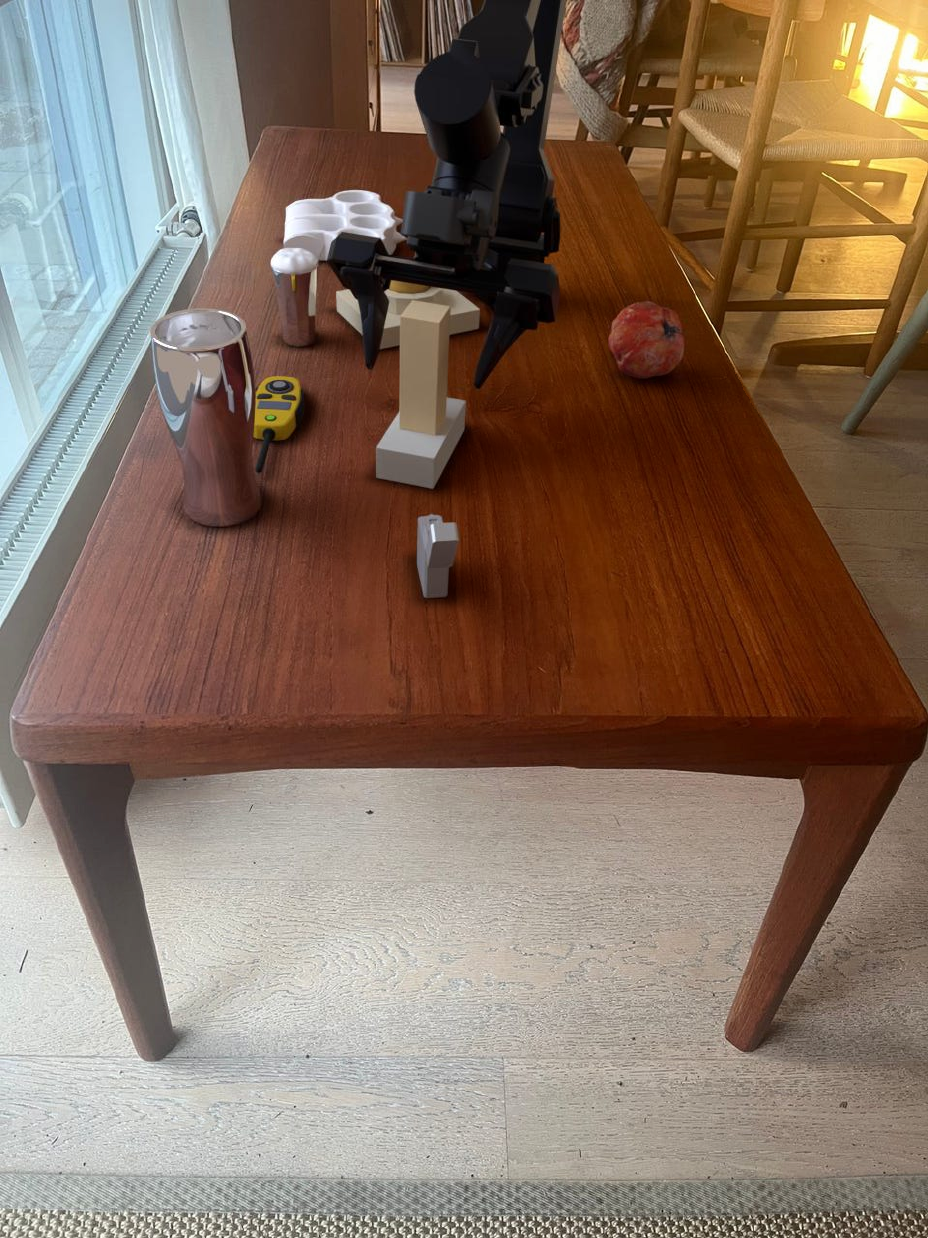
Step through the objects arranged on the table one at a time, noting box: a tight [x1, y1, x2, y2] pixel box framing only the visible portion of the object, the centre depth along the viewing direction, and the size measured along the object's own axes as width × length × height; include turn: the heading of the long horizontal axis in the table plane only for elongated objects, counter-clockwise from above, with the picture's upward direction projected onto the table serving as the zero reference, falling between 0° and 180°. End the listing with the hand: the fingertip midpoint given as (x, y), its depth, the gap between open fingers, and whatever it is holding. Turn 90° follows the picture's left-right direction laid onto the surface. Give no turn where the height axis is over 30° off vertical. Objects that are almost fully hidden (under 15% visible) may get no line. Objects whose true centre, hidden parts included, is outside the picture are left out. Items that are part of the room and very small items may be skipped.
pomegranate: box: [608, 300, 685, 380], centre depth 96 cm, size 7×7×10 cm
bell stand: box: [335, 286, 481, 350], centre depth 103 cm, size 12×10×4 cm
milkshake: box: [270, 246, 324, 348], centre depth 96 cm, size 4×5×10 cm
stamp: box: [375, 300, 467, 490], centre depth 81 cm, size 5×10×13 cm, turn 165°
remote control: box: [253, 375, 305, 474], centre depth 86 cm, size 5×2×15 cm
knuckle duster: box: [283, 189, 408, 262], centre depth 119 cm, size 3×18×15 cm
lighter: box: [416, 513, 460, 599], centre depth 69 cm, size 7×2×8 cm, turn 10°
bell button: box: [389, 280, 429, 294], centre depth 102 cm, size 4×4×2 cm
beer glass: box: [149, 307, 263, 528], centre depth 73 cm, size 7×7×15 cm
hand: (422, 377), depth 80 cm, fingers open, 9 cm apart
